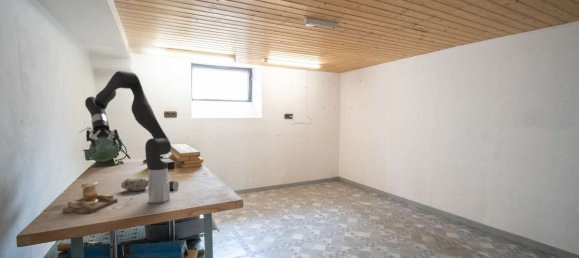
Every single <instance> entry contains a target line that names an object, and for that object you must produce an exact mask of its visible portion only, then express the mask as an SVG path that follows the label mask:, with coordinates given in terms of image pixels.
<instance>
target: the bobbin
mask: <svg viewBox="0 0 579 258" xmlns="http://www.w3.org/2000/svg"><path fill="white" fill-rule="evenodd" d="M98 185H99V183H98V181H88V182H83V183H81V188H82V197H83V200H85V201H83V202H95V204H97V203H98V199H96V198H97V195H98V187H97V186H98Z"/></svg>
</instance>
